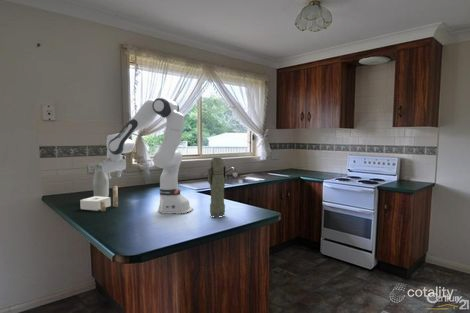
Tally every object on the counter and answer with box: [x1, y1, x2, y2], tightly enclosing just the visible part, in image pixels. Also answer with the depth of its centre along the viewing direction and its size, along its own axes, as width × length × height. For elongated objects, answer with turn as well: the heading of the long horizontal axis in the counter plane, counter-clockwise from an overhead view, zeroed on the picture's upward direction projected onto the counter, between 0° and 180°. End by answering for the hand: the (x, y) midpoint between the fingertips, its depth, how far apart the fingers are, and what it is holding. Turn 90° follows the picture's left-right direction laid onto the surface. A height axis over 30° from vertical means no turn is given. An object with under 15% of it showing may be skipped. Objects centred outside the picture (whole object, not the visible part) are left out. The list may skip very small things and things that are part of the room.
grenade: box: [207, 157, 227, 217], centre depth 174 cm, size 9×12×35 cm
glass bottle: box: [92, 162, 110, 197], centre depth 216 cm, size 10×10×28 cm
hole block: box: [79, 195, 112, 211], centre depth 196 cm, size 13×13×6 cm
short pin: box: [100, 201, 107, 212], centre depth 187 cm, size 3×3×6 cm
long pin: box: [112, 185, 119, 208], centre depth 198 cm, size 3×3×14 cm
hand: (114, 177), depth 198 cm, fingers open, 8 cm apart
